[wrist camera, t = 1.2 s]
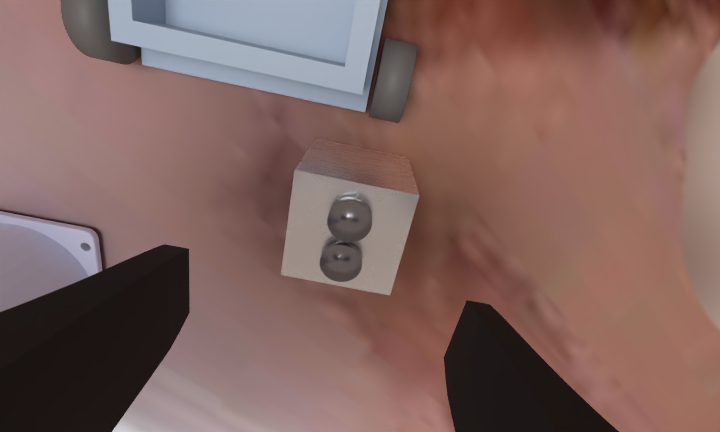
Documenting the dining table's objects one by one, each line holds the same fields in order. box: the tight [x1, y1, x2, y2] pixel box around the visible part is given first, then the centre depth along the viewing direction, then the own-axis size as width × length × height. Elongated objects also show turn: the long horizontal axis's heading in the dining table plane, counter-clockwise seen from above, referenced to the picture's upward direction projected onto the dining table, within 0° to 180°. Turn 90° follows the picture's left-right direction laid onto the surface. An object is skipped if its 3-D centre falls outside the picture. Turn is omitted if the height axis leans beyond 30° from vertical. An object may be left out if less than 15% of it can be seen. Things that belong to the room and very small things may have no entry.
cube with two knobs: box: [281, 138, 420, 295], centre depth 16 cm, size 4×4×6 cm
